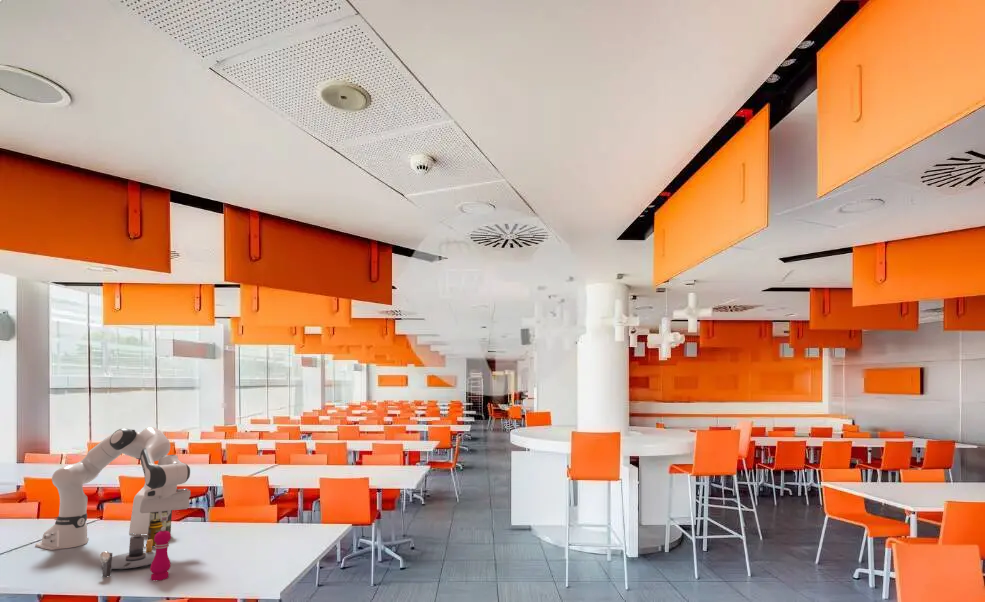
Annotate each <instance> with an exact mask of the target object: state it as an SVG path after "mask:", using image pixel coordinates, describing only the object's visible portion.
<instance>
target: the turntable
mask: <svg viewBox="0 0 985 602" xmlns="http://www.w3.org/2000/svg"><path fill="white" fill-rule="evenodd" d="M145 544H146V548H145V550H143V553H146V558H144V559H142V560H138V561H126V556H127V555H129V552H126V553H121V554H117V555H112V564H111V570H113V569H114V570H123V569H124V570H125V569H132V568H133V569H135V568H139V567H145V566H149V565H150V566H151V564H152V562H153V560H154V557H155V554H156V550H153V547H152V544H153V540H152V539H151V540H148V539H147V540H146V543H145ZM101 566H102V567H103V563H102V562H101Z"/></svg>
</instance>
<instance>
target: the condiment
mask: <svg viewBox="0 0 985 602" xmlns="http://www.w3.org/2000/svg"><path fill="white" fill-rule="evenodd" d="M162 527H163V525H162V521H161V519H153V520H151V521H150V526H149V529H148V535H147V540H151V539H152V540H153V544H152V546H155V544H156V542H155V541H154V537H155V535H156V534H157V533H158V532H160V531H161V528H162Z"/></svg>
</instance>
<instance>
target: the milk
mask: <svg viewBox="0 0 985 602" xmlns="http://www.w3.org/2000/svg"><path fill="white" fill-rule="evenodd" d="M148 489H151V488H150V487H148V486H147V485H146V483H145V482H144V485H143V487H142V488H141V489H140V490H139V491H138V492H137V493H136V494H135V495H134V498H133V502H132V510H131V517H130V522H129V523H130V524H129V531H128V534H129V533H134V534H133V535H135V534H147V535H146V536H148V529H149V518H150V513H141V512H140V506H141V502H142V499H143V497H144V492H145V491H146V490H148Z"/></svg>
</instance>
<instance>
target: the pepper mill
mask: <svg viewBox="0 0 985 602" xmlns="http://www.w3.org/2000/svg"><path fill="white" fill-rule="evenodd" d="M165 530H166V528H165V527H162V528H161V531H160V532H158V533H157V534H156V535H155V537H154V541H155V542H156V544H155V547H154V548H155V551H156V554H155V557H154V560H153V562H152V564H150V566H149V567H150V569H149V570H150V573H151V575H150V580H151V581H153V580H155V581H154V582H157V581H156V580H159V581H164V580H167V579H168V578H169V574H170V572H169V571H170V569H171V561H170V558H169V554H168V547H170V541H171V538H172V534H170V532H168V531H165ZM163 579H164V580H163Z"/></svg>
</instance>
